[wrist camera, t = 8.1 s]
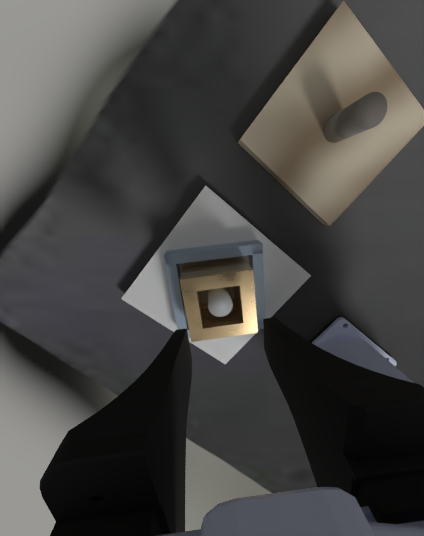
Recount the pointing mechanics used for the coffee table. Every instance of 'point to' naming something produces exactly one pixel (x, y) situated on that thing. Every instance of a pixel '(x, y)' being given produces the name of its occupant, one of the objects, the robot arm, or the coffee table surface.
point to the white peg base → (208, 248)
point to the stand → (334, 119)
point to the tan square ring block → (214, 277)
